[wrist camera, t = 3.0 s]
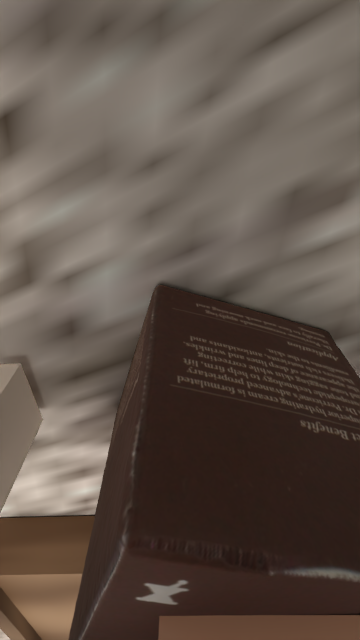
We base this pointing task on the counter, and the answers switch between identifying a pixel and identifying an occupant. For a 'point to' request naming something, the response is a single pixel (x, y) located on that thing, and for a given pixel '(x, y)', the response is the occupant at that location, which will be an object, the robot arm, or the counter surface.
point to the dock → (41, 574)
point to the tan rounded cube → (260, 627)
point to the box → (225, 475)
